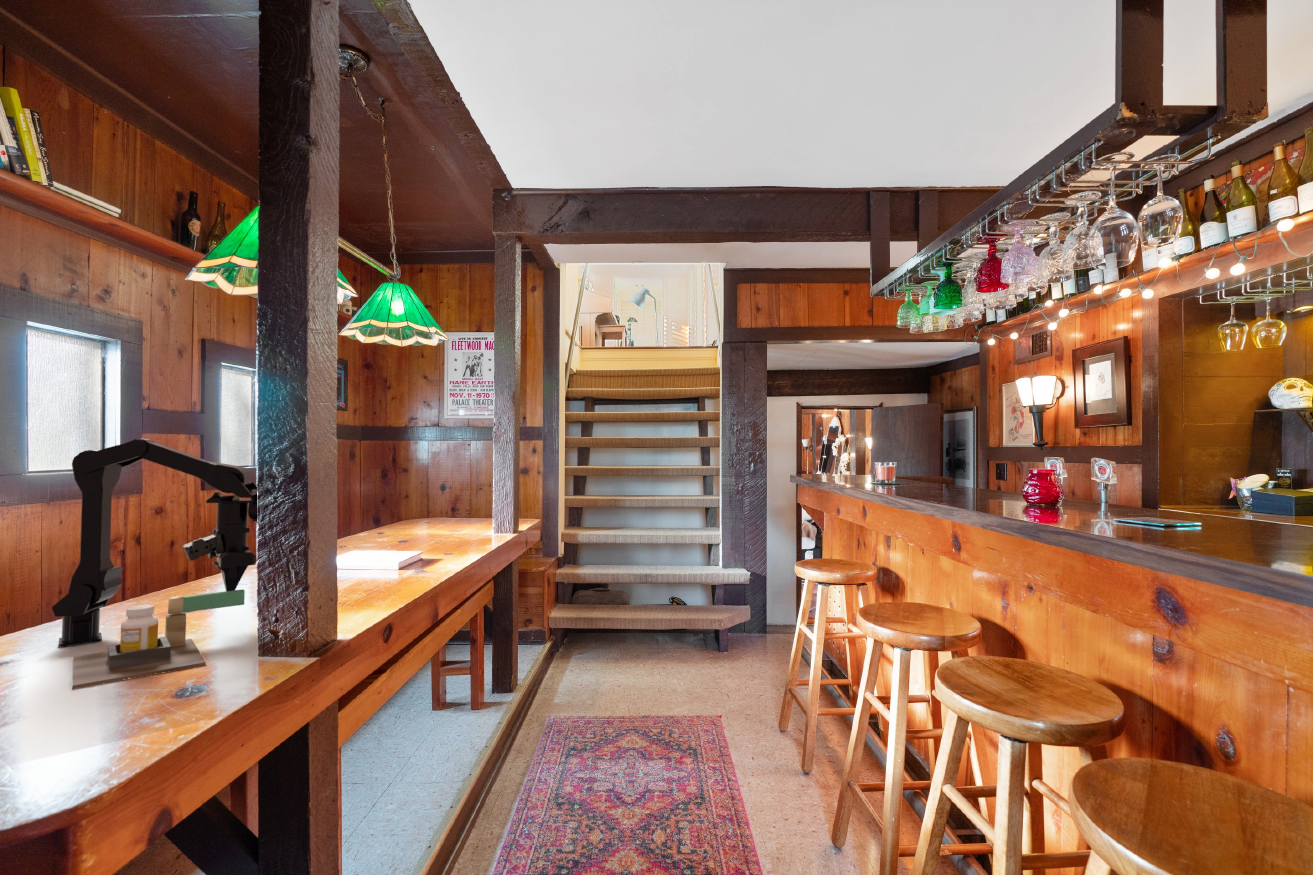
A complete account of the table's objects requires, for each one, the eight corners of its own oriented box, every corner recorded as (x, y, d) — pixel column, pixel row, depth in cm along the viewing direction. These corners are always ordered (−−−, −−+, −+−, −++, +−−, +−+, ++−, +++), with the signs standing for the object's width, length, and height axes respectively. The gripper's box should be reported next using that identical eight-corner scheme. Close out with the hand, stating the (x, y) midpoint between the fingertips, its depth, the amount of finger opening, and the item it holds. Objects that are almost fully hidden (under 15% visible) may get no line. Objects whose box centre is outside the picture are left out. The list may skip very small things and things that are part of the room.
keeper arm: (168, 614, 124) (169, 599, 124) (167, 612, 126) (167, 597, 126) (244, 604, 132) (245, 590, 132) (242, 602, 134) (242, 588, 134)
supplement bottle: (151, 652, 120) (153, 602, 120) (161, 658, 117) (163, 606, 117) (115, 660, 115) (117, 607, 116) (124, 665, 112) (126, 611, 113)
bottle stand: (73, 659, 117) (74, 624, 117) (191, 641, 129) (192, 609, 130) (72, 689, 103) (73, 648, 103) (205, 665, 115) (206, 629, 115)
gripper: (181, 521, 139) (178, 592, 138) (192, 529, 125) (189, 607, 124) (240, 519, 146) (238, 585, 146) (257, 525, 132) (254, 599, 132)
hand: (229, 594), depth 137 cm, fingers closed
